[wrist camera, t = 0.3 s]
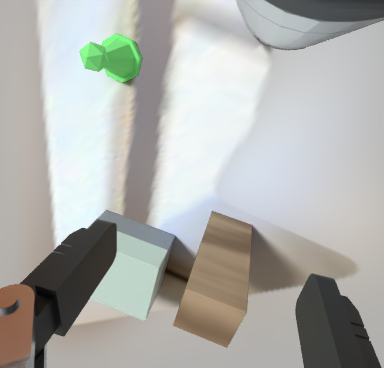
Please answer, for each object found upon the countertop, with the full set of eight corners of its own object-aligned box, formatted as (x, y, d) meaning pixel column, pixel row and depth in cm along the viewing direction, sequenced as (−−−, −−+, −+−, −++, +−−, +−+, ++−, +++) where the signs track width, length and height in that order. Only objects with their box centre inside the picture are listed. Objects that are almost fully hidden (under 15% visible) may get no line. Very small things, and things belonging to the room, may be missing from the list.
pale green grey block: (106, 210, 35) (78, 236, 29) (175, 235, 34) (159, 267, 28) (101, 261, 39) (76, 292, 34) (161, 285, 38) (145, 321, 33)
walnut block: (212, 210, 31) (186, 288, 20) (252, 225, 30) (246, 312, 20) (201, 241, 33) (172, 325, 22) (238, 255, 32) (227, 347, 22)
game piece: (107, 82, 27) (69, 86, 22) (100, 35, 25) (57, 28, 20) (144, 81, 26) (115, 86, 21) (140, 33, 24) (106, 24, 19)
